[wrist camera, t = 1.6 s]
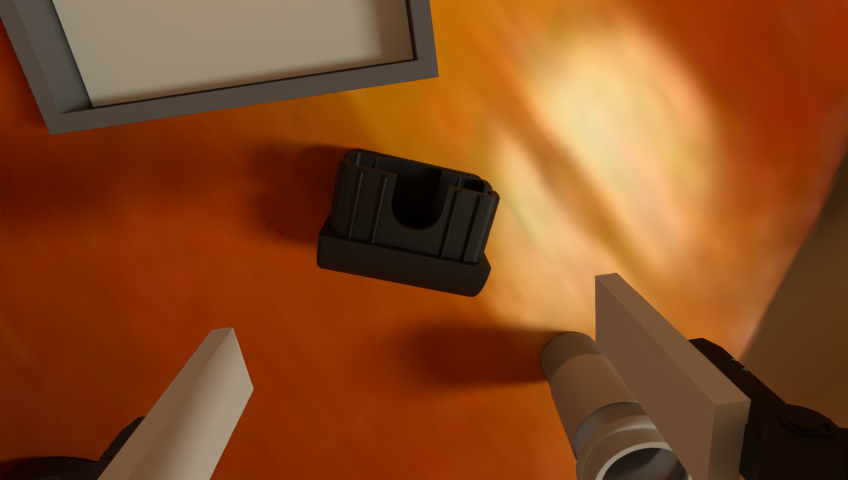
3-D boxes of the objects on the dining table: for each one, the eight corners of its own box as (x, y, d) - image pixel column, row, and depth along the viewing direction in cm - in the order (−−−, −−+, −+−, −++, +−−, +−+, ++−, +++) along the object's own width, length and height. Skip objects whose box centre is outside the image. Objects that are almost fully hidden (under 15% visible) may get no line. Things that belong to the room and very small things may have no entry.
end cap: (328, 243, 32) (310, 284, 26) (345, 145, 30) (330, 163, 23) (463, 270, 33) (478, 315, 27) (490, 177, 31) (512, 203, 25)
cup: (516, 336, 35) (569, 458, 24) (598, 305, 35) (692, 416, 23) (543, 403, 38) (603, 543, 26) (620, 376, 37) (715, 507, 26)
